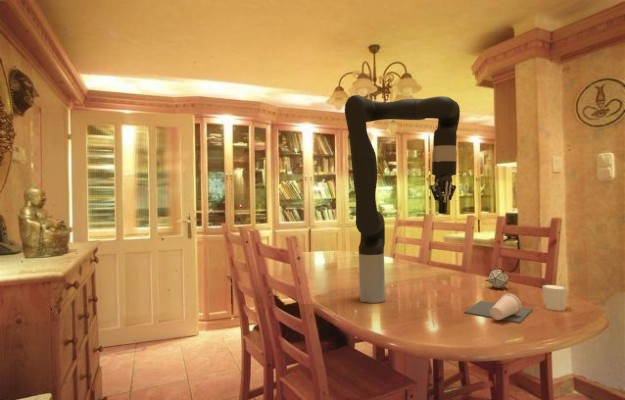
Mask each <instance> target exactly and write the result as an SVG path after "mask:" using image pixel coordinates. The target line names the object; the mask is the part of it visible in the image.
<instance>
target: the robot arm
mask: <svg viewBox="0 0 625 400" xmlns="http://www.w3.org/2000/svg"><path fill="white" fill-rule="evenodd" d="M460 108H461V107H460V104H459V103H458V102H457V101H455V100H454V99H452V98H450V97H449V96H432V97H427V98H404V99H398V100H394V101H386V102H385V101H378V100H377V101H376V100H371V99H369V98H367V97H364V96H362V95H359V94H353V95H351V96H349V97H348V98H347V100H346V102H345V104H344V116H345V122H346V125H347V126H346V127H347V131H348V137H349V139H348V141H349V149H350V160H351V170H352V179H353V188H354V195H355V226H356V229H357V230H358V232H359V233H360V241H359V242H360V243H359V244H358V292H359V293H358V295H359V296H358V297H359V302H361V303H368V304H369V303H370V304H377V303H383V302H384V301H386V287H385V286H386V281H385V244H386V235H385V234H386V227H385V223H386V221H385V218H384V216H383V214H382V213H381V212H380V211H378V206H377V198H376V197H377V196H376V191H377V184H378V176H379V175H378V174H379V173H378V172H379V171H378V162H377V159H378V158H377V155H376V151H375V148H374V146H373V145H372V142H371V139H370V137H369V134H368V129H367V128H368V127H367V123H371V122H375V121H376V122H377V121H383V120H384V121H386V120H399V121H401V120H402V121H403V120H404V121H422V120H424V121H425V120H426V119H435V120H438V121H437V128H436V129H435V130H434V132H433V144H432V146H433V147H432V153H431V155H432V156H431V175H433V176H435V178H434V181H433V182H434V183H433V184H431V185H430V186H429V189H430V191H431V194H432V197H433V199H434V201H437V203H438V210H437V211H438V214H439V215H447V213H448V203H449V201H451V200H452V198H453V197H454V195H455V194H454V193H455V191H456V190H457V186H456V184H453V176H456V175H457V162H458V160H457V157H458V153H457V152H458V151H457V138H458V137H457V132H458V127H459V122H460V117H461V115H460V114H461V110H460Z"/></svg>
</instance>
